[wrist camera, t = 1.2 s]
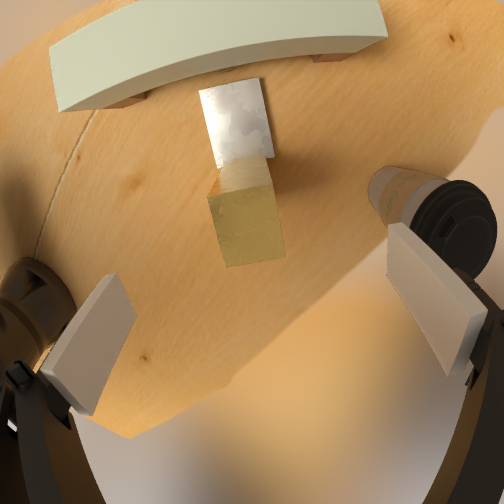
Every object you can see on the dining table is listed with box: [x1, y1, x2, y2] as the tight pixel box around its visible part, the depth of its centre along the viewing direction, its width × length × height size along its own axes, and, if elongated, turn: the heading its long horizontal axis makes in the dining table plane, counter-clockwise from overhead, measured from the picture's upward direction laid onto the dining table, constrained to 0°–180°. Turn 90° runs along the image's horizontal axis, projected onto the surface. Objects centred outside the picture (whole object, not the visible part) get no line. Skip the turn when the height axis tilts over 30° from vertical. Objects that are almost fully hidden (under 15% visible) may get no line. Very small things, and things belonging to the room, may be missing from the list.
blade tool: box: [199, 77, 286, 268], centre depth 23 cm, size 6×13×14 cm, turn 12°
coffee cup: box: [368, 166, 497, 280], centre depth 24 cm, size 9×9×15 cm
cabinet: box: [49, 0, 388, 113], centre depth 19 cm, size 24×7×12 cm, turn 102°
